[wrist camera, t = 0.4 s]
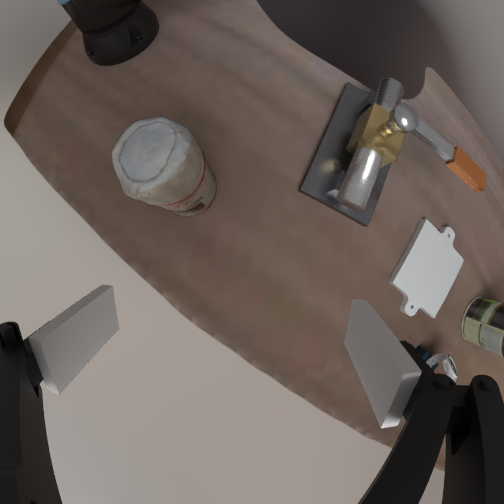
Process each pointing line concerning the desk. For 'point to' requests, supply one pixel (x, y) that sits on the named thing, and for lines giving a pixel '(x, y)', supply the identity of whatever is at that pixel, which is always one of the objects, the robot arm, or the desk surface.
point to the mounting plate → (427, 269)
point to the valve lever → (438, 146)
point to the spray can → (164, 167)
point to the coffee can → (484, 324)
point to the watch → (433, 361)
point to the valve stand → (356, 151)
